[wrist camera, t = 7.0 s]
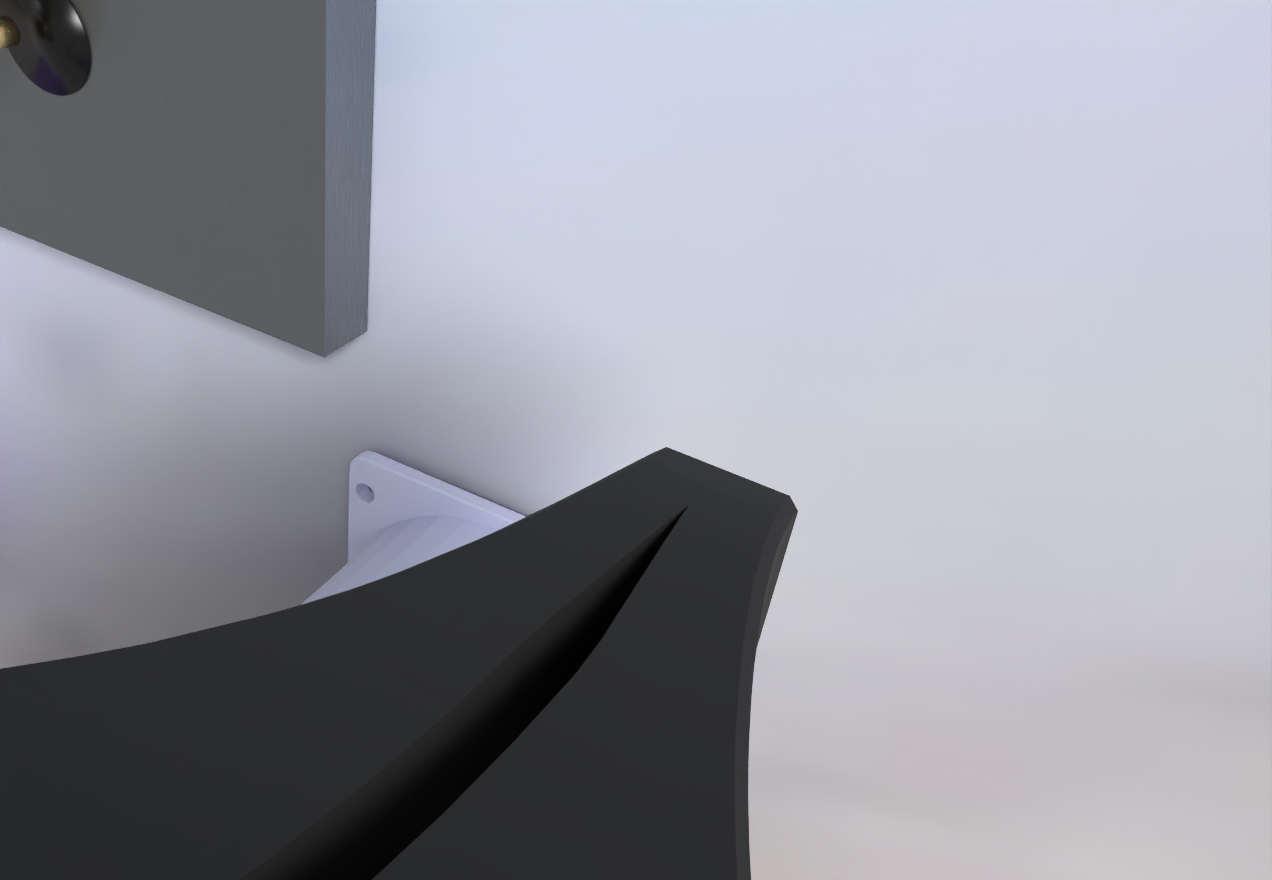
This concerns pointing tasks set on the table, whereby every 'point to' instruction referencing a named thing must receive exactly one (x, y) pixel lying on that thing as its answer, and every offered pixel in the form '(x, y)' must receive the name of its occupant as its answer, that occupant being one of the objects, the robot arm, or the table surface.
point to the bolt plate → (200, 151)
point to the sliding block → (8, 32)
